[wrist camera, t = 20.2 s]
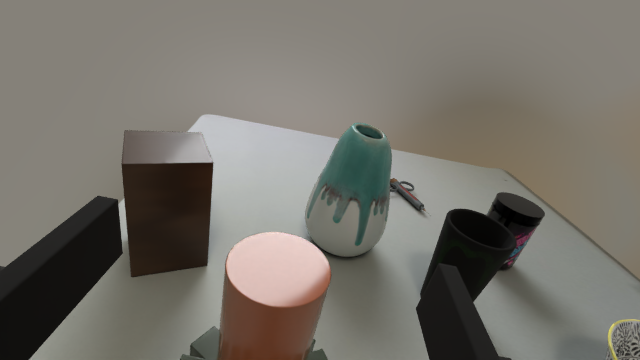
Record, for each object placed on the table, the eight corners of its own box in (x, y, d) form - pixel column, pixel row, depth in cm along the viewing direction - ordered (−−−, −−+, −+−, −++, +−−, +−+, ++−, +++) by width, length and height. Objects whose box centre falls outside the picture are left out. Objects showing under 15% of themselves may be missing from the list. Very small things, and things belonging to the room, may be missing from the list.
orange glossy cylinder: (207, 409, 24) (216, 304, 18) (223, 323, 30) (233, 227, 25) (306, 409, 25) (338, 310, 20) (301, 327, 31) (324, 236, 26)
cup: (475, 300, 44) (518, 228, 38) (466, 339, 38) (516, 261, 32) (421, 271, 47) (453, 201, 41) (404, 303, 41) (440, 226, 35)
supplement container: (467, 259, 52) (497, 204, 47) (469, 238, 57) (495, 187, 52) (513, 278, 50) (548, 223, 45) (509, 254, 55) (541, 203, 50)
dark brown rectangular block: (131, 277, 36) (121, 163, 29) (132, 232, 42) (124, 130, 35) (207, 265, 39) (213, 162, 33) (198, 225, 46) (201, 132, 39)
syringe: (413, 221, 59) (416, 213, 58) (363, 172, 72) (365, 166, 72) (444, 218, 62) (448, 210, 61) (391, 172, 76) (394, 166, 75)
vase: (390, 263, 47) (435, 149, 39) (316, 273, 42) (350, 146, 34) (354, 216, 56) (384, 116, 48) (290, 220, 51) (312, 109, 43)
